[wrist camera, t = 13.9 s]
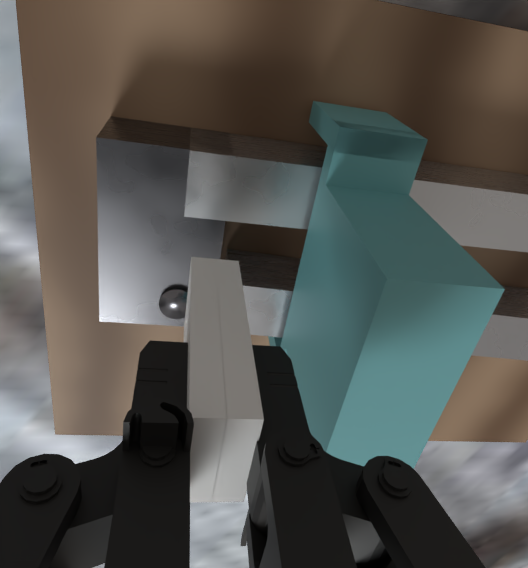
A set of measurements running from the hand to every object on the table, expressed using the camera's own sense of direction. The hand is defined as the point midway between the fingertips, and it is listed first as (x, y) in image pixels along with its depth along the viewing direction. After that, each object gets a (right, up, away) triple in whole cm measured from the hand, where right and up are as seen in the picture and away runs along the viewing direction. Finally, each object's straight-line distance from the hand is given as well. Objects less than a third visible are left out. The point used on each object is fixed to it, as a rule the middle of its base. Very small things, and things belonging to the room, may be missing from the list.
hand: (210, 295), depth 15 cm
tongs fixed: (+8, +3, +7) cm, 10 cm away
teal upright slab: (+4, +3, +6) cm, 8 cm away
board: (+7, +1, +9) cm, 11 cm away
